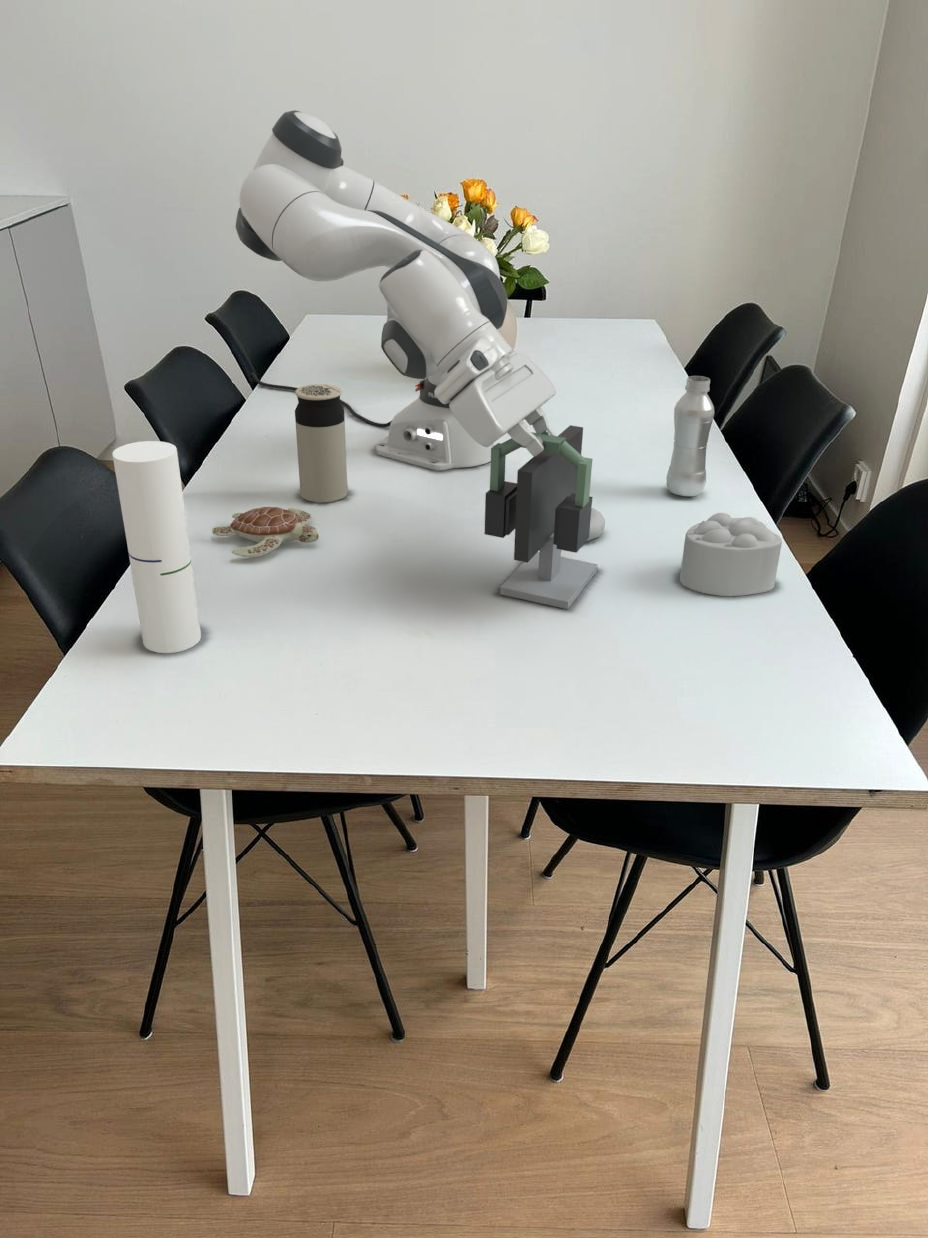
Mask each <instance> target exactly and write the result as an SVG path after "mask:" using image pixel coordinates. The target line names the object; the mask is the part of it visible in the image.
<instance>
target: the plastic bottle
mask: <svg viewBox="0 0 928 1238" xmlns="http://www.w3.org/2000/svg"><path fill="white" fill-rule="evenodd" d="M710 384H711V379H710V378H709V377H706V376H704V375H703V376H702V375H691V376H687V378H686V384H685V387H684V390H685V391H686V392H685V393H683V395H682V396H681V397H680V398H679V399H678V400H677V402H676V403H675V406H674V408H673V422H674V423H673V424H674V426H673V427H674V436H673V440H674V441H673V449H672V454H671V459H670V465H669V466H668V470H667V474H666V477H665V480H666V487H667V489H668V491H669V492H670V493H672V494H673V495H677V496H681V497H695V496H699V495H700V494H702V492H704V490H705V487H706V484H707V469H706V466H707V465H706V464H707V463H706V461H707V447H708V441H709V435H710V432H711V429H712V424H713V421H714V417H715V406H714V404H713V402H712V400H711V398H710V396H709V394H708V392H710V389H711V388H710V386H711V385H710Z"/></svg>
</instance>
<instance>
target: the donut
mask: <svg viewBox="0 0 928 1238" xmlns="http://www.w3.org/2000/svg"><path fill="white" fill-rule="evenodd" d="M605 527H606V519H605V518H604V516H603V514H602V513H601V512H600V510H597V509H596V508H594V507H592V508H591V520H590V532H589V539H588V540H587V541H586V542H589V541H592V540H594V539H597V538H598V537H599V536H600V535H602V533H604V530H605Z"/></svg>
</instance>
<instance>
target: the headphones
mask: <svg viewBox="0 0 928 1238" xmlns="http://www.w3.org/2000/svg"><path fill="white" fill-rule="evenodd" d="M530 432H531V433H532V434H534V435H535V436H536V437H538V436H540V438H541V439H542V440H543V442H544V443H545V444H546V448H545V449H544V450H543V451H546V452H552V453H558V454H559V453H560V454H562V455H563V456H564V457H565V458H566V459H567V460H568V461H569V462H571V463H572V464H573V465H574V466H575V467H576V468H577V481H576V494H572V495H571V496H570V497H569V496H567V497H566V498H565V499H564V500H563V501H562V502H561V503H560V504H559V505H558V506H557V507H556V510H555V525H554V540H553V544H554V545H557V549H560V550H561V551H565V552H571V553H575V554H577V553H578V552H579V551H580V549H581V548H582V547H583V546H584V545H585V544H586V542H588V541H587V540H588V539H589V532H590V520H591V508H593V496H590V494H591V484H592V483H591V481H592V470H593V458H590V457H586V456H585V457H584V456H583V455H582V453H581V454H580V453H578V452H577V451H576V450H575V449H574V448H573V447H572V446H570V445H569V444H568V443H567V442H566V441H565V440H566V438H564V437H558V435H556V436H552V435H546V434H539V433H536V432H532V431H530ZM521 448H523V449H527V448H526V447H524V446H522V445H521V444H519V443H517V442H516V441H514V440H513V439H512V438H511V437H510V438H509V439H507V440H505V441H503V442H502V443H500V442H497V443H495V444H494V446H493V447H492V448H491V461H490V470H489V471H490V473H489V490H487V492H485V500H484V501H485V503H484V508H485V509H484V535H486V536H492V537H496V538H501V539H504V538H505V537H506V536H509V535H510V534H511V533H512V532H513V531H515V520H516V497H517V482H512V481H506V460H507V459H506V457H507V455H508V454H510V453H512V452H515V451H517V450H519V449H521Z"/></svg>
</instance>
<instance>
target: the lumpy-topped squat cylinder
mask: <svg viewBox="0 0 928 1238" xmlns="http://www.w3.org/2000/svg"><path fill="white" fill-rule="evenodd" d="M683 543H684V544H683V551H682V558H681V566H680V573H679V582H680V584H681V585H682V586H684V587H685V588H687V589H689V590H692V591H694V592H698V593H702V594H707V595H712V596H719V597H720V596H721V597H740V596H741V597H742V596H749V595H750V596H751V595H755V594H756V595H757V594H762V593H767V592H770V591H772V590H773V589H774V588H775V584H776V578H777V573H778V567H779V561H780V555H781V549H782V543H783V540H782V538H781V536H780V535H778V534H777V533H775V532H774V531H772V530H771V529H770V528H768V527H767V525H766V524H764V523H763V522H762V521H760V520H758V519H757V518H755V517H752V516H747V517H746V516H745V517H731V515H730V514H729V513H726V512H717V513H714V514H713V515H711V516H710V517H709V518H707V520H702V521H701V522H699V523H697V524H694V525H692V526H691V527H689V528H688V529H687V531H686V533H685V537H684V542H683Z"/></svg>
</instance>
